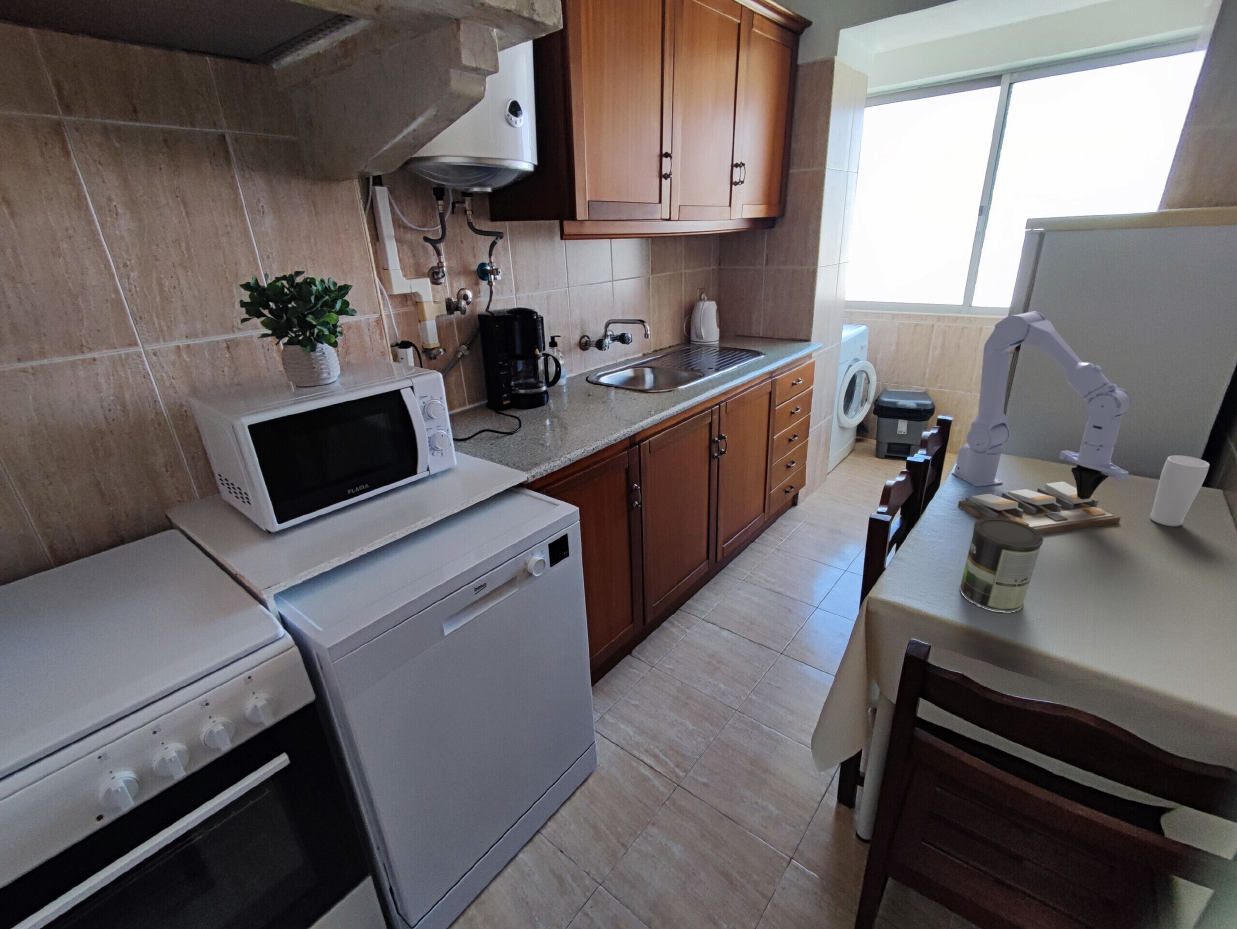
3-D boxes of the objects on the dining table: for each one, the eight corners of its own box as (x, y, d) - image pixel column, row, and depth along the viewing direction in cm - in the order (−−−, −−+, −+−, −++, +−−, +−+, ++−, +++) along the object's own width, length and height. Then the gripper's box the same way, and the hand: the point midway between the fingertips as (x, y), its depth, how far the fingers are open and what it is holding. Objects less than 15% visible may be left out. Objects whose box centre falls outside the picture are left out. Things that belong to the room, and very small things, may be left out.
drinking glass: (1150, 525, 125) (1173, 464, 120) (1141, 512, 131) (1162, 453, 125) (1190, 531, 122) (1215, 468, 117) (1179, 518, 128) (1203, 457, 122)
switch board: (957, 506, 138) (960, 494, 136) (1056, 493, 142) (1059, 482, 140) (1010, 538, 123) (1014, 526, 122) (1118, 522, 127) (1123, 510, 126)
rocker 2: (1044, 488, 138) (1045, 483, 137) (1061, 485, 138) (1063, 480, 138) (1073, 503, 130) (1075, 498, 130) (1091, 501, 131) (1093, 496, 131)
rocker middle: (1007, 496, 136) (1008, 490, 136) (1025, 493, 137) (1026, 488, 137) (1036, 505, 129) (1037, 499, 128) (1055, 502, 129) (1056, 497, 129)
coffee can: (954, 600, 104) (969, 534, 99) (964, 574, 111) (979, 512, 106) (1020, 621, 98) (1040, 552, 92) (1027, 593, 105) (1046, 527, 100)
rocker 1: (971, 500, 135) (971, 495, 135) (989, 498, 136) (990, 493, 135) (998, 510, 127) (999, 504, 127) (1017, 507, 128) (1018, 502, 128)
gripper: (1146, 451, 120) (1129, 508, 124) (1083, 431, 133) (1069, 483, 138) (1118, 455, 119) (1102, 512, 123) (1057, 434, 132) (1044, 487, 137)
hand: (1083, 497), depth 131 cm, fingers closed, pressing on rocker 2
